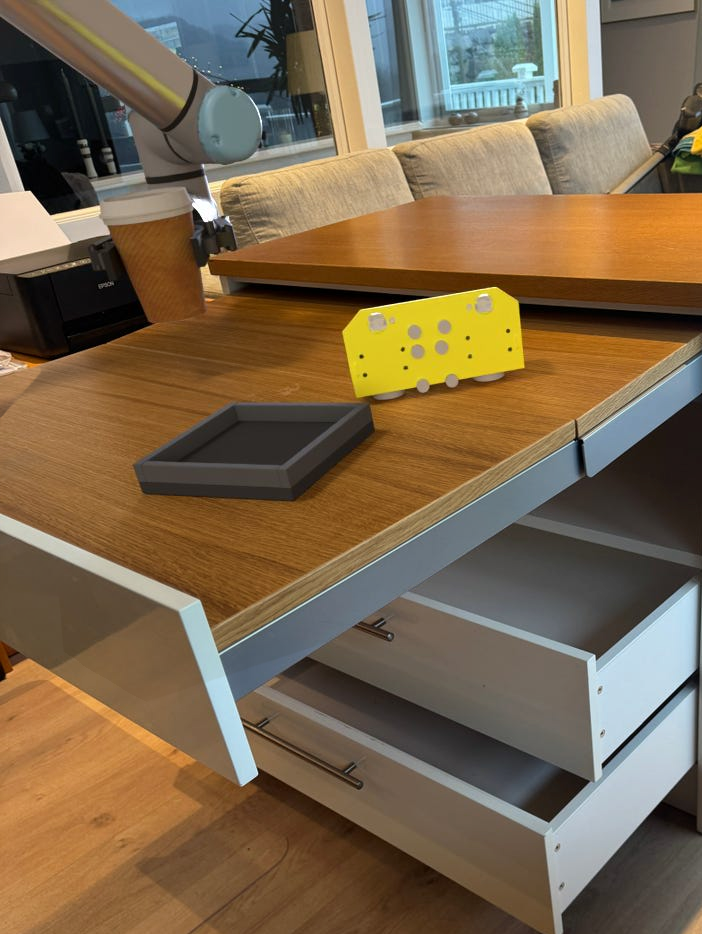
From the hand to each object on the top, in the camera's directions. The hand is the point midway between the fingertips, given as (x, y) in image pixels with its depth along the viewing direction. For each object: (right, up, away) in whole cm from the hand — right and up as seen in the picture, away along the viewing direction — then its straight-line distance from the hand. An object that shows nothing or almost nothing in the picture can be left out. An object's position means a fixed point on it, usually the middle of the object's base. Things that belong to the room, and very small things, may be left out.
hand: (153, 259), depth 90 cm
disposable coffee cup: (0, -3, +8) cm, 8 cm away
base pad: (+15, -23, -16) cm, 32 cm away
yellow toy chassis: (+29, -14, -4) cm, 32 cm away
